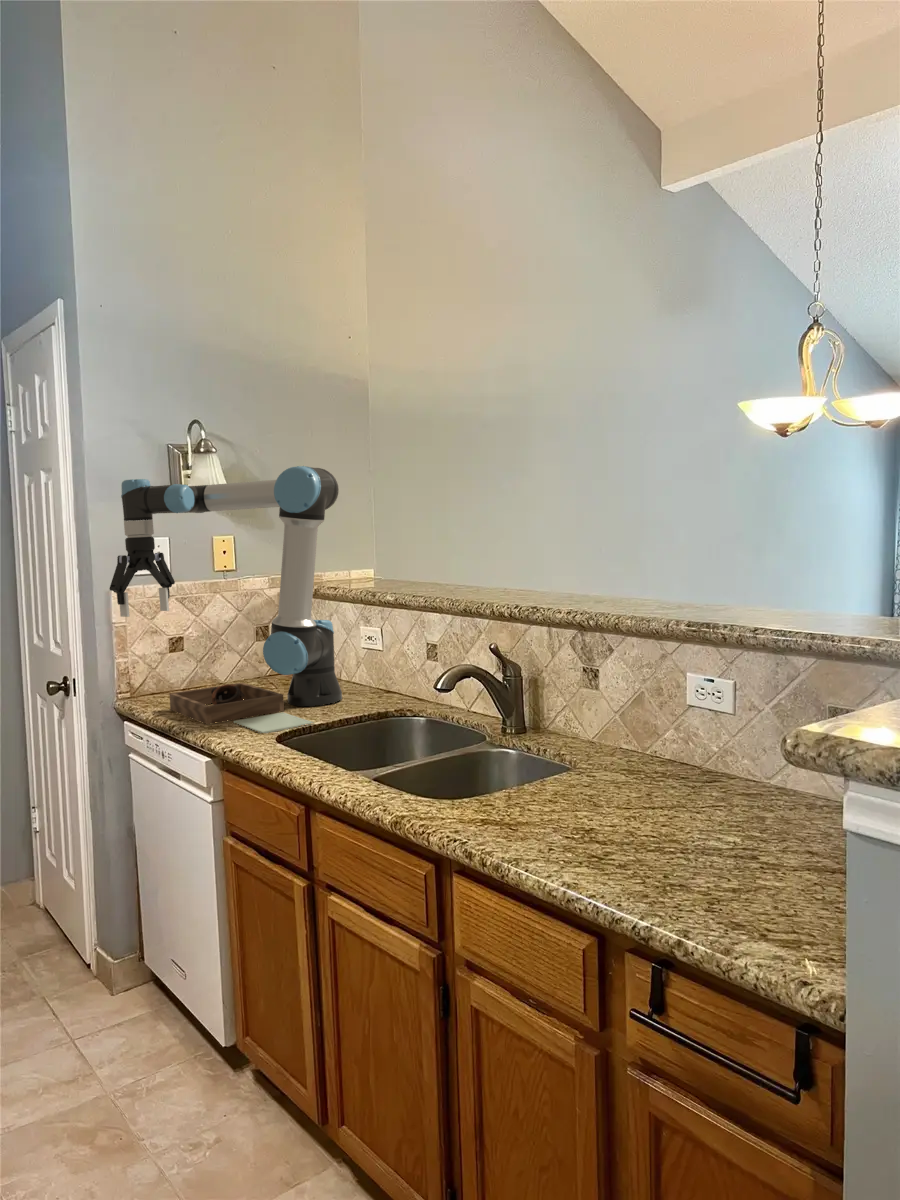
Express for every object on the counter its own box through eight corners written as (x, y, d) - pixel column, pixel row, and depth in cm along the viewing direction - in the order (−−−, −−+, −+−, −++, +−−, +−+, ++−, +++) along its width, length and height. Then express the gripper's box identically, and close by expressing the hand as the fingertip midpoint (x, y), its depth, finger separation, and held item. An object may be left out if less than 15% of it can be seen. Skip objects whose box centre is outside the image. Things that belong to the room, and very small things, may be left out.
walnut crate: (283, 711, 240) (283, 694, 239) (207, 724, 226) (206, 707, 226) (243, 698, 259) (242, 682, 258) (170, 709, 245) (169, 693, 245)
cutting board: (313, 724, 224) (313, 722, 224) (262, 734, 215) (262, 732, 215) (283, 714, 236) (283, 712, 236) (233, 722, 228) (233, 721, 228)
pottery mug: (256, 710, 245) (249, 687, 240) (230, 731, 239) (223, 708, 234) (226, 695, 251) (219, 672, 246) (201, 715, 245) (193, 693, 240)
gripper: (165, 534, 258) (171, 608, 260) (91, 538, 236) (98, 618, 238) (184, 534, 254) (189, 608, 256) (110, 538, 233) (116, 619, 235)
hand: (145, 613), depth 247 cm, fingers open, 13 cm apart
